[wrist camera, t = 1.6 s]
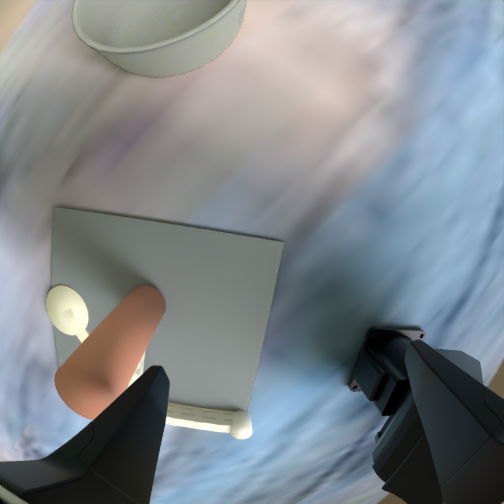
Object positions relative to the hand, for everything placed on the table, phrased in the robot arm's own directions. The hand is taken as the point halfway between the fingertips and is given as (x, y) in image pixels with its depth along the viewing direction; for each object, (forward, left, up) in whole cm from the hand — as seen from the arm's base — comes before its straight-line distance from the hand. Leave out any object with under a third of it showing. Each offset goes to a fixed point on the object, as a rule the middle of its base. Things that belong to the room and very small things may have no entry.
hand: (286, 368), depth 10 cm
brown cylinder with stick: (+8, +8, -11) cm, 16 cm away
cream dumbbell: (+3, +13, -12) cm, 18 cm away
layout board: (+8, +6, -12) cm, 15 cm away
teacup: (+11, -19, -13) cm, 25 cm away
